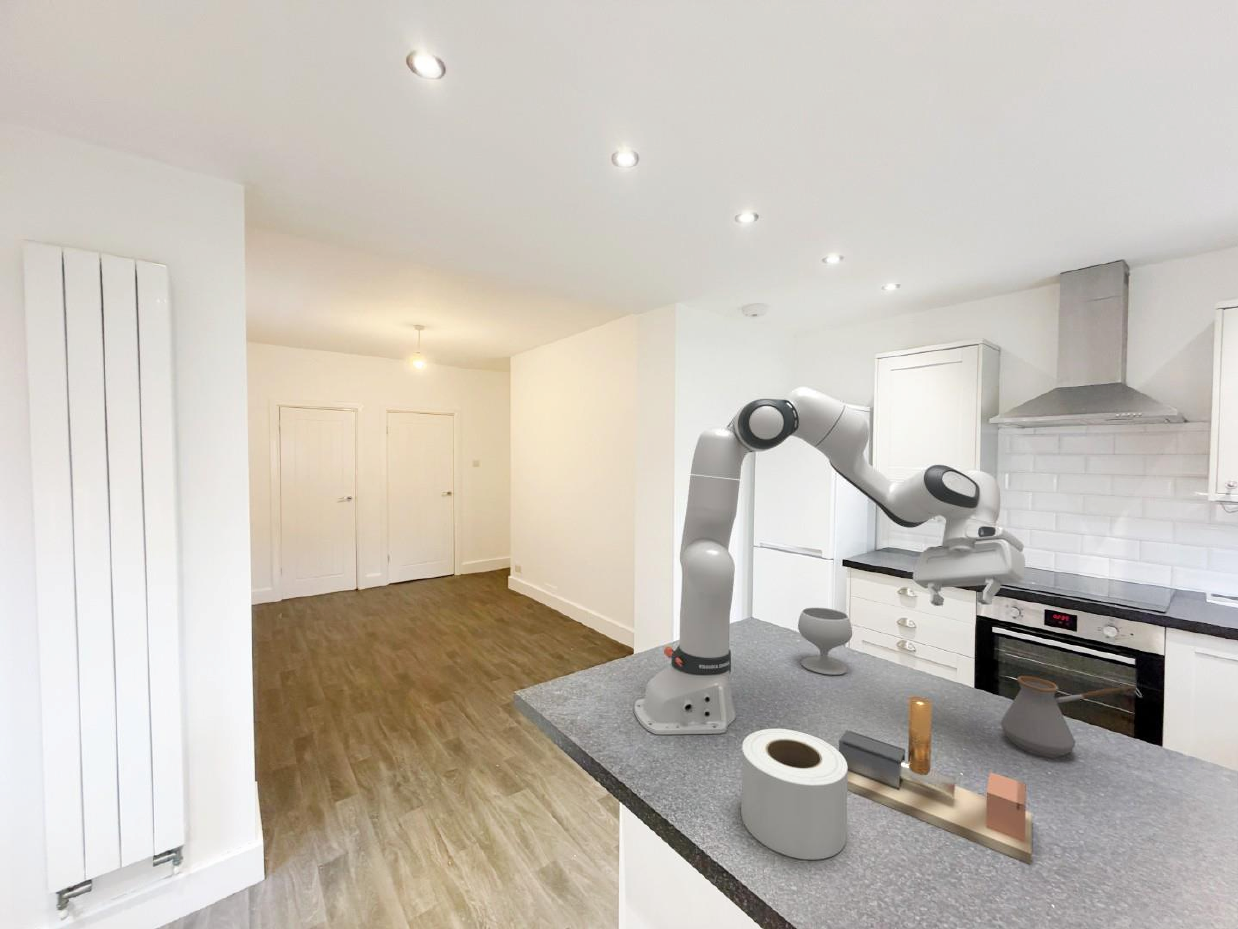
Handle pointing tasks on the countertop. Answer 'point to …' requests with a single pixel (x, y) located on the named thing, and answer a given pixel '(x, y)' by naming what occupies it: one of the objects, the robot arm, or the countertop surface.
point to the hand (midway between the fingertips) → (959, 603)
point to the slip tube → (923, 752)
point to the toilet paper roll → (794, 793)
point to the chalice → (824, 637)
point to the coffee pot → (1044, 717)
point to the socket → (1006, 806)
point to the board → (945, 812)
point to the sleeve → (872, 758)
